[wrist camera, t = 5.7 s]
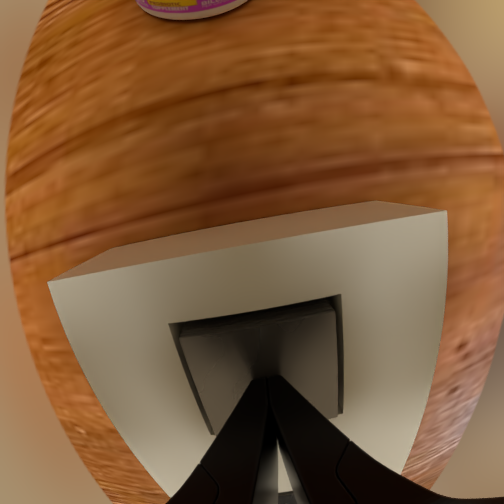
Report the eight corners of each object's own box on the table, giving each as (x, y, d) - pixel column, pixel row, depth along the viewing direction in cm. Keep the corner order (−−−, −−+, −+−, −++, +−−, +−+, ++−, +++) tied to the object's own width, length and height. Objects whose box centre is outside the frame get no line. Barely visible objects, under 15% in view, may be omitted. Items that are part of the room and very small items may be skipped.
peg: (307, 343, 12) (337, 416, 8) (223, 357, 12) (216, 436, 8) (298, 261, 12) (335, 311, 7) (203, 278, 12) (178, 338, 7)
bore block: (367, 452, 15) (387, 500, 11) (209, 479, 15) (205, 531, 11) (375, 200, 11) (447, 210, 7) (112, 248, 12) (47, 281, 7)
